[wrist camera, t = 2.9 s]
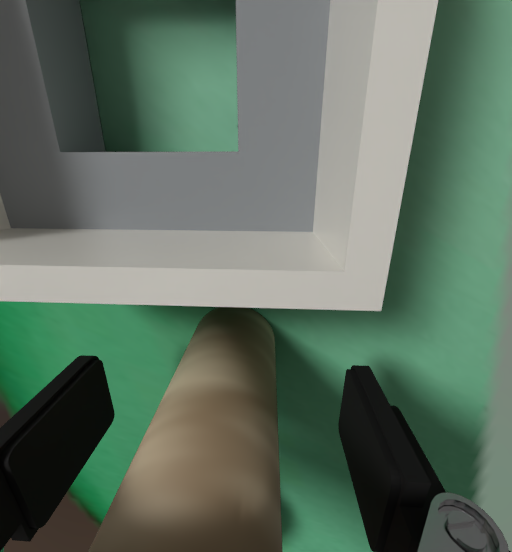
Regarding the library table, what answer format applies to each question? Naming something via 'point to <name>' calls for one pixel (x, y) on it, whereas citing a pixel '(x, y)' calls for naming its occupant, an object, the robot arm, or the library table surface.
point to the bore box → (215, 165)
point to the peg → (207, 450)
